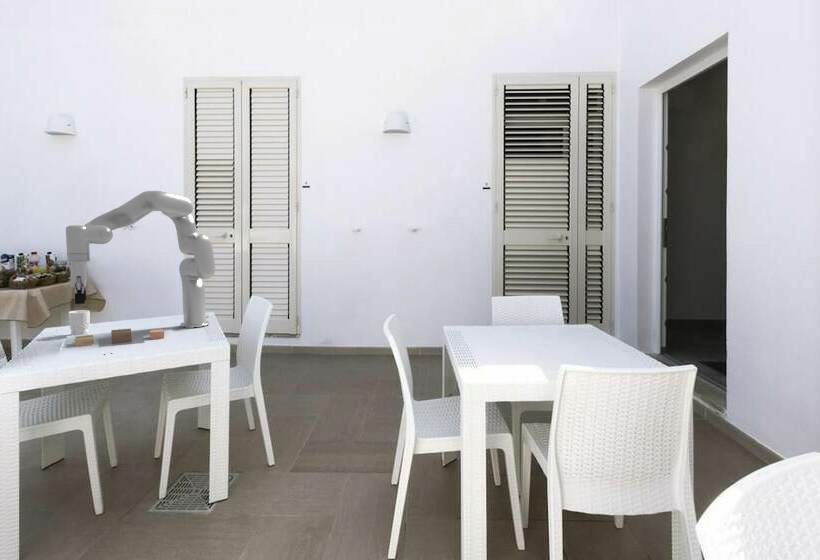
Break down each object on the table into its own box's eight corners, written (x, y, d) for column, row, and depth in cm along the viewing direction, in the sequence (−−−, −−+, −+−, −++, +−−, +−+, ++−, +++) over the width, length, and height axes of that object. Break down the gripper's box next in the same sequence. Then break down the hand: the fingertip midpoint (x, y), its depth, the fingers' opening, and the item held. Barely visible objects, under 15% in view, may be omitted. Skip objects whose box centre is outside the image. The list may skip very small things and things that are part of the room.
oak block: (76, 346, 222) (75, 336, 221) (93, 344, 224) (93, 334, 224) (75, 349, 216) (74, 339, 216) (93, 347, 219) (92, 337, 219)
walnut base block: (111, 339, 228) (111, 330, 227) (131, 338, 231) (130, 328, 230) (111, 343, 221) (111, 333, 221) (131, 341, 225) (131, 331, 224)
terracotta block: (150, 339, 233) (149, 330, 233) (163, 338, 235) (163, 329, 235) (150, 342, 229) (150, 332, 228) (164, 340, 231) (163, 331, 231)
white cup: (66, 336, 238) (65, 313, 236) (74, 332, 245) (72, 310, 244) (87, 336, 239) (85, 312, 238) (93, 332, 247) (92, 309, 246)
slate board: (99, 341, 230) (99, 338, 229) (143, 337, 237) (143, 334, 237) (98, 349, 215) (98, 346, 215) (144, 345, 223) (144, 342, 223)
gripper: (68, 256, 222) (71, 299, 224) (65, 259, 207) (67, 305, 209) (90, 256, 225) (92, 298, 227) (88, 259, 210) (91, 304, 212)
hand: (80, 302), depth 218 cm, fingers open, 9 cm apart
